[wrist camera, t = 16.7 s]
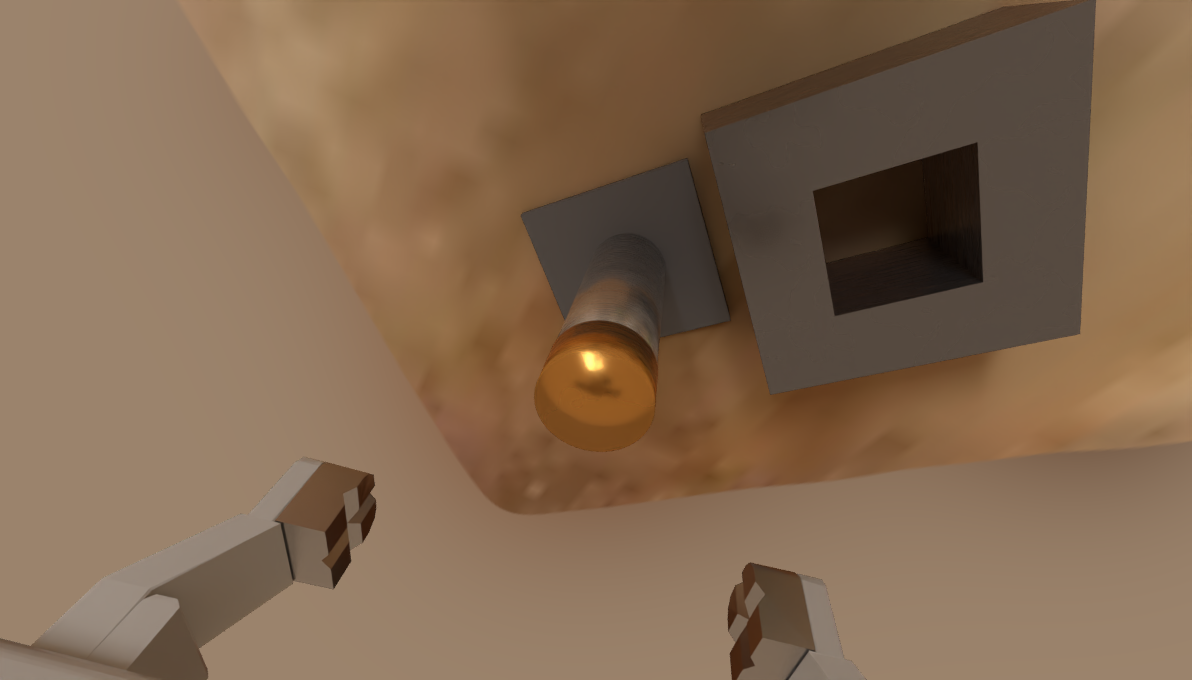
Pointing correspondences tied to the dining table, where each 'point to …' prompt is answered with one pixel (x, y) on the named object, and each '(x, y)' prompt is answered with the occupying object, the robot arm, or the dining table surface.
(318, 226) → the dining table surface
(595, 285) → the cylindrical container
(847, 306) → the grey square block
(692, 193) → the mat
